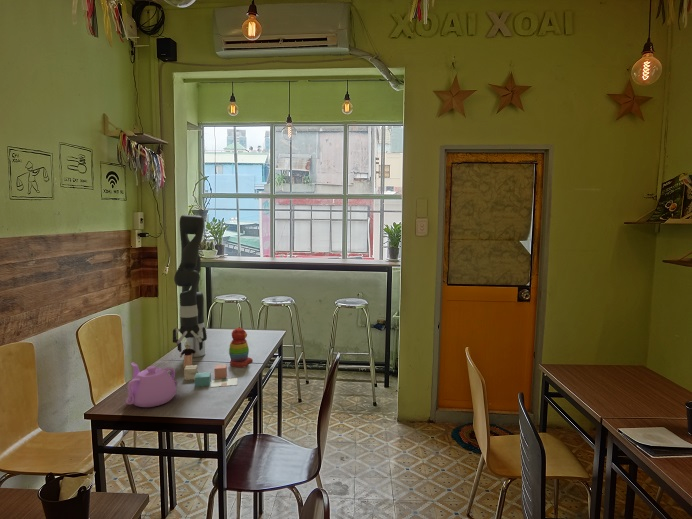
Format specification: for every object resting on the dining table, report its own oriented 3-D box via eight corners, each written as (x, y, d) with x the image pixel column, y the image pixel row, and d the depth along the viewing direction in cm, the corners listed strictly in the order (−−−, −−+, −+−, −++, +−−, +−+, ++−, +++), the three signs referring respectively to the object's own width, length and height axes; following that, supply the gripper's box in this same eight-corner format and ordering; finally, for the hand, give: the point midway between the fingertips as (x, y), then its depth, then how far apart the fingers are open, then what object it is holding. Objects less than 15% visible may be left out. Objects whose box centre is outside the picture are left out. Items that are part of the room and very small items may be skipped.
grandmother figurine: (181, 369, 211) (179, 343, 209) (179, 367, 214) (178, 341, 213) (197, 367, 214) (196, 341, 213) (196, 364, 217) (195, 339, 216)
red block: (215, 375, 203) (215, 365, 202) (226, 374, 204) (226, 364, 203) (214, 379, 198) (214, 368, 197) (226, 378, 199) (226, 367, 198)
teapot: (156, 385, 191) (154, 354, 190) (190, 395, 180) (189, 362, 178) (106, 404, 172) (104, 369, 171) (141, 416, 161) (139, 379, 160)
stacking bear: (244, 367, 213) (243, 331, 211) (225, 366, 215) (224, 330, 213) (254, 360, 223) (253, 326, 222) (235, 359, 225) (234, 325, 224)
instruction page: (212, 380, 196) (212, 380, 196) (237, 378, 198) (237, 378, 198) (210, 387, 188) (210, 386, 188) (237, 385, 191) (237, 384, 191)
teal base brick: (196, 381, 195) (196, 373, 194) (210, 380, 196) (210, 371, 196) (195, 386, 189) (194, 377, 189) (209, 385, 190) (209, 376, 190)
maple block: (186, 376, 202) (185, 365, 201) (197, 375, 203) (197, 364, 202) (184, 380, 197) (184, 369, 197) (196, 379, 198) (196, 368, 198)
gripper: (206, 312, 203) (207, 347, 204) (173, 314, 200) (175, 349, 201) (204, 315, 195) (206, 351, 197) (170, 317, 192) (172, 354, 194)
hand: (190, 350), depth 199 cm, fingers open, 8 cm apart
